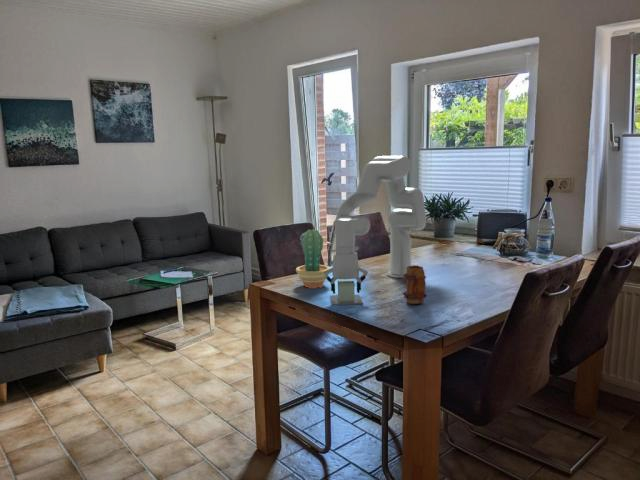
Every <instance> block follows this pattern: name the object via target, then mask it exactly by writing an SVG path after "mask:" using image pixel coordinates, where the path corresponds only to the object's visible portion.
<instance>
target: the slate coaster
mask: <svg viewBox="0 0 640 480" xmlns="http://www.w3.org/2000/svg"><path fill="white" fill-rule="evenodd" d="M330 298H331V299H330ZM329 299H330V303H331V302H332V303H331V306H332V305H336V306H354V305H355V306H357V305H358V306H359V305H360V306H361V305H364V301H363V300H362V298H361V295H360V294H355V301H342V302H339V299H338V294H337V295H336V294H333V295H329Z"/></svg>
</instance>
